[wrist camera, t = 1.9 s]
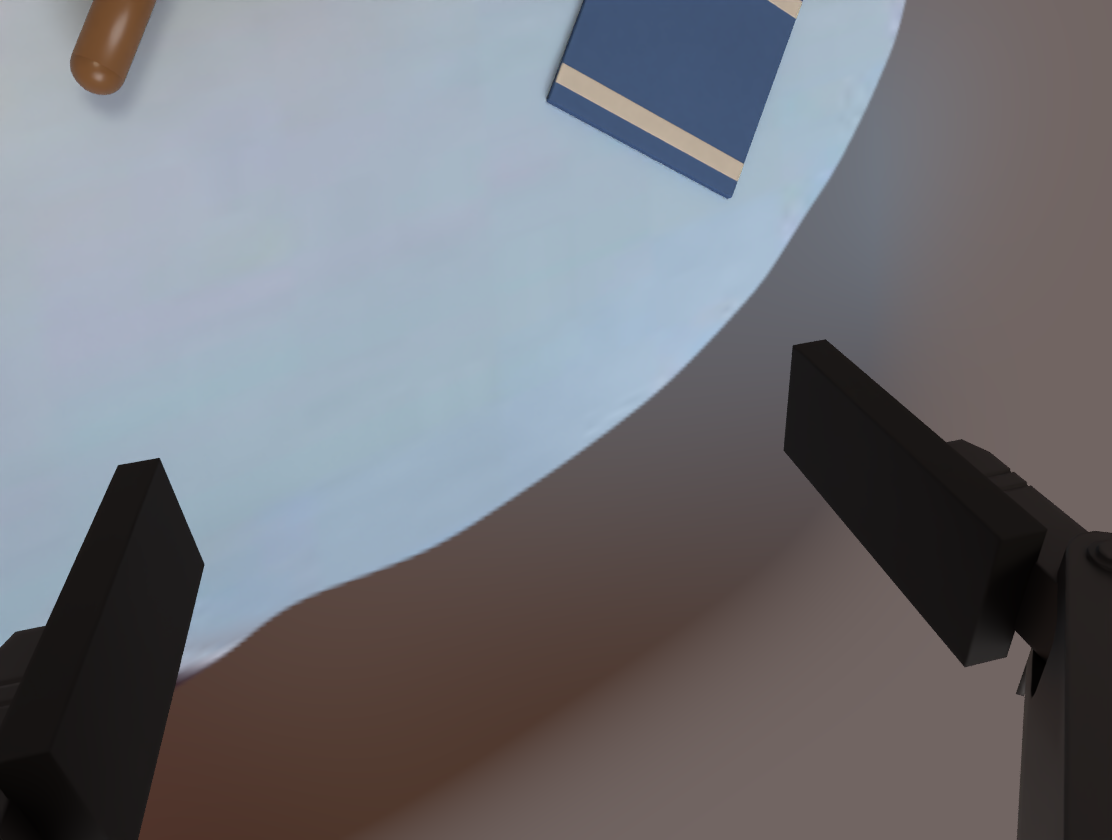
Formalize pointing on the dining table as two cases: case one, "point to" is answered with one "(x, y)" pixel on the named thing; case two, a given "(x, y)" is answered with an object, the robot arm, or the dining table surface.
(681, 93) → the tea towel
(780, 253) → the dining table surface
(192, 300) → the dining table surface
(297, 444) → the dining table surface
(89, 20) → the frying pan
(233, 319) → the dining table surface
